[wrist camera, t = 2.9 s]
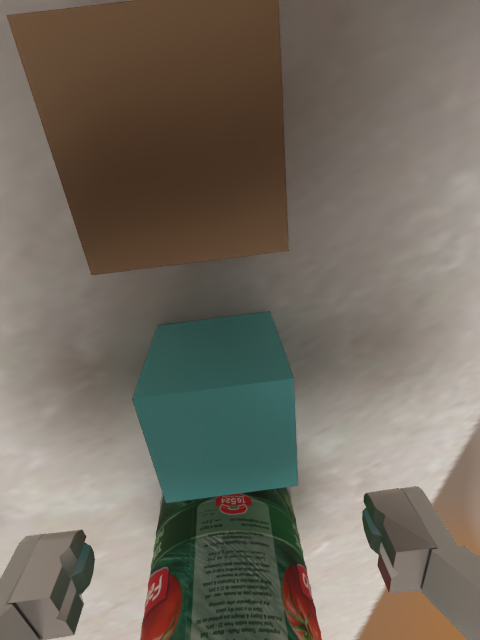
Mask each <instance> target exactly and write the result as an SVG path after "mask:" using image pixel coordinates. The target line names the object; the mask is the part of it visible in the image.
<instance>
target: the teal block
mask: <svg viewBox="0 0 480 640" xmlns="http://www.w3.org/2000/svg"><path fill="white" fill-rule="evenodd" d="M132 400H133V403H134V407H135V410H136V413H137V416H138V419H139V422H140V425H141V428H142V431H143V434H144V437H145V440H146V443H147V446H148V449H149V453H150V456H151V459H152V462H153V465H154V468H155V471H156V474H157V477H158V480H159V483H160V486H161V489H162V492H163V495H164V499H165V502H166V503H170V502H178V501H186V500H193V499H201V498H208V497H216V496H223V495H231V494H238V493H246V492H253V491H261V490H268V489H276V488H283V487H291V486H298V471H297V446H296V420H295V394H294V377H293V375H292V372H291V369H290V366H289V363H288V361H287V358H286V355H285V352H284V349H283V347H282V344H281V341H280V338H279V335H278V333H277V330H276V327H275V324H274V321H273V318H272V316H271V313H270V311H269V312H261V313H253V314H245V315H237V316H229V317H221V318H213V319H205V320H197V321H189V322H181V323H173V324H165V325H158V326H157V328H156V331H155V334H154V337H153V340H152V343H151V346H150V349H149V352H148V355H147V357H146V360H145V363H144V366H143V369H142V372H141V375H140V378H139V381H138V384H137V386H136V389H135V392H134V395H133V398H132Z"/></svg>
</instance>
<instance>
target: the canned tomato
mask: <svg viewBox="0 0 480 640" xmlns="http://www.w3.org/2000/svg"><path fill="white" fill-rule="evenodd" d="M160 508H161V509H160V516H159V522H158V527H157V531H156V540H155V545H154V554H153V559H152V564H151V574H150V578H149V583H148V593H147V598H146V602H145V612H144V618H143V622H142V627H141V639H140V640H322V639H321V631H320V628H319V625H318V621H317V617H316V609H315V606H314V603H313V599H312V594H311V586H310V584H309V580H308V576H307V568H306V565H305V562H304V558H303V550H302V548H301V544H300V539H299V533H298V530H297V526H296V519H295V516H294V512H293V508H292V504H291V496H290V490H289V487H283V488H276V489H268V490H261V491H253V492H246V493H238V494H231V495H223V496H216V497H208V498H201V499H193V500H186V501H178V502H170V503H166V502H165V499H164V495H163V493H162V497H161V502H160Z"/></svg>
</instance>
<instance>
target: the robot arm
mask: <svg viewBox="0 0 480 640" xmlns="http://www.w3.org/2000/svg"><path fill="white" fill-rule="evenodd" d="M364 503H365V505H366V508H365V509H364V511H363V517H362V520H363V526H364V531H365V534H366V537H367V540H368V542H369V545H370V548H371V549H373V550H374V551H375V552H376V553H377V554H378V555H379V559H378V567H379V570H380V572H381V575H382V577H383V580H384V582H385V584H386V587H387V589H388V592H389V593H398V592H409V591H418V590H422V593H423V594H424V595H425V597H426V598H427V599H429V600H430V602H431V603H432V604H433V605H434V606H435V607H436V608H437V609H438V610H439V611H440V612H441V613H442V614H443V615H444V616H445V617H446V618H447V619H448V620H449V621H450V622H451V623H452V624H453V625H454V626H455V627H456V628H457V629H458V630H459V631H460V632H461V633H462V634H463V635H464V637H465V638H467V640H480V557H479V556H478V555H477V554H475V553H474V552H472V551H471V550H470V549H468V548H467V547H466V546H464V545H461V546H458V544H457V543H456V541H455V540H454V538H453V537H452V535H451V534H450V532H449V530H448V529H447V527H446V526H445V524H444V523H443V521H442V520H441V518H440V516H439V515H438V513H437V512H436V510H435V509H434V507H433V506H432V504H431V503H430V501H429V499H428V498H427V496H426V495H425V493H424V492H423V490H422V489H421V488H419V487H417V486H414V487H407V488H400V489H399V488H396V489H389V490H383V491H376V492H369V493H366V494H365V495H364ZM85 539H86V535H85V534H84V532H83V530H74V531H66V532H58V533H49V534H39V535H31V536H26V537H25V538H24V539H23V540H22V541H21V542H20V543H19V545H18V547H17V549H16V551H15V552H14V554H13V556H12V558H11V560H10V562H9V564H8V566H7V567H6V569H5V571H4V573H3V575H2V577H1V579H0V640H47V639H53V638H59V637H65V636H71V635H74V634H75V630H76V627H77V624H78V621H79V618H80V614H81V611H82V608H83V605H84V603H83V599H82V596H81V594H82V593H83V592H84V591H85V589H86V588H87V587H88V586H89V585H90V582H91V578H92V575H93V570H94V561H95V559H94V552H93V549H92V547H91V546H90V545H88V544H86V543H84V542H85Z"/></svg>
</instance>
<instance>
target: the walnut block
mask: <svg viewBox="0 0 480 640" xmlns="http://www.w3.org/2000/svg"><path fill="white" fill-rule="evenodd" d="M7 18H8V21H9V24H10V27H11V30H12V33H13V36H14V39H15V42H16V45H17V49H18V52H19V55H20V58H21V61H22V64H23V67H24V70H25V73H26V76H27V79H28V82H29V85H30V88H31V91H32V94H33V97H34V100H35V103H36V107H37V110H38V113H39V116H40V119H41V122H42V125H43V128H44V131H45V134H46V137H47V140H48V143H49V146H50V149H51V152H52V155H53V158H54V161H55V165H56V168H57V171H58V174H59V177H60V180H61V183H62V186H63V189H64V192H65V195H66V198H67V201H68V204H69V207H70V210H71V213H72V216H73V220H74V223H75V226H76V229H77V232H78V235H79V238H80V241H81V244H82V247H83V250H84V253H85V256H86V259H87V262H88V265H89V268H90V271H91V274H92V275H97V274H105V273H113V272H121V271H129V270H137V269H145V268H153V267H161V266H170V265H178V264H186V263H194V262H202V261H210V260H218V259H226V258H234V257H242V256H250V255H258V254H266V253H274V252H282V251H289V245H288V220H287V196H286V171H285V147H284V122H283V97H282V73H281V48H280V24H279V0H136V1H127V2H118V3H110V4H101V5H92V6H84V7H75V8H66V9H58V10H49V11H40V12H32V13H23V14H14V15H7Z"/></svg>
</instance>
